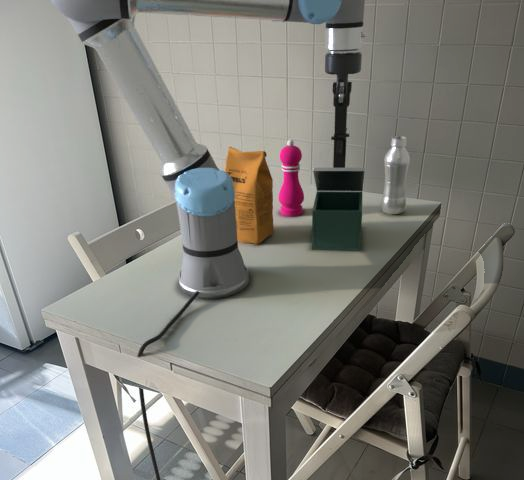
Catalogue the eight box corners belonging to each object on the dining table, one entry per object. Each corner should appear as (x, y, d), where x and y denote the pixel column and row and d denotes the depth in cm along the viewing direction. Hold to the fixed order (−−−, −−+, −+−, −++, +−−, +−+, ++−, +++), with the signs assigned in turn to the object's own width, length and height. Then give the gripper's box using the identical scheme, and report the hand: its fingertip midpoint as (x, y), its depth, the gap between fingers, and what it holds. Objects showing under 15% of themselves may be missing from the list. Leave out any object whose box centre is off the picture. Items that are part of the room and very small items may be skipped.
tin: (359, 250, 128) (362, 211, 123) (311, 249, 130) (312, 210, 124) (360, 228, 140) (362, 191, 134) (316, 227, 142) (316, 191, 136)
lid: (364, 171, 119) (365, 167, 119) (313, 171, 121) (313, 167, 121) (362, 191, 134) (362, 188, 134) (316, 190, 136) (316, 187, 136)
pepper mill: (300, 218, 148) (299, 143, 137) (275, 216, 150) (273, 142, 139) (306, 209, 154) (307, 136, 142) (283, 207, 156) (281, 136, 145)
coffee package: (242, 225, 145) (237, 141, 133) (279, 234, 139) (277, 147, 126) (218, 237, 139) (210, 150, 126) (256, 247, 132) (251, 156, 120)
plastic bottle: (406, 216, 146) (415, 140, 134) (382, 217, 146) (388, 141, 135) (402, 208, 151) (410, 134, 140) (378, 209, 151) (384, 135, 140)
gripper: (361, 54, 103) (355, 176, 116) (362, 47, 114) (355, 160, 127) (323, 55, 104) (321, 176, 117) (327, 49, 115) (324, 160, 128)
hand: (339, 168), depth 122 cm, fingers closed
